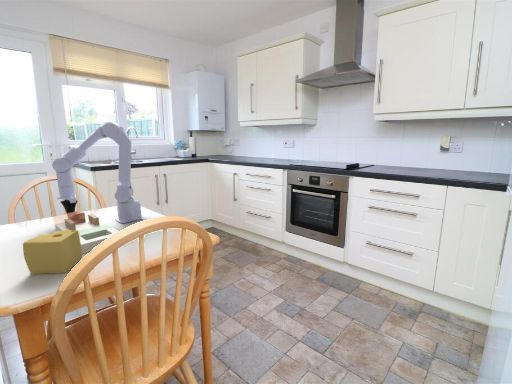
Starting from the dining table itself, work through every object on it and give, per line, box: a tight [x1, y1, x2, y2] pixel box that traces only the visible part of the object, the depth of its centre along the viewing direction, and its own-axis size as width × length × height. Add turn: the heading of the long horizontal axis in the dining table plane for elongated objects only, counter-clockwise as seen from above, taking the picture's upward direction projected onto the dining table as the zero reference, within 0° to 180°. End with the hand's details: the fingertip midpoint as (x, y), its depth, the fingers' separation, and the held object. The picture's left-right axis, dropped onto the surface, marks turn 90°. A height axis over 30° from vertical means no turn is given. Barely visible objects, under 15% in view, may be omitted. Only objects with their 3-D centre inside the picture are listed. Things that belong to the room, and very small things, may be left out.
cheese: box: [22, 230, 83, 275], centre depth 84 cm, size 10×11×10 cm
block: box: [66, 210, 86, 224], centre depth 118 cm, size 5×5×4 cm
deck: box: [54, 213, 119, 254], centre depth 110 cm, size 14×33×6 cm, turn 47°
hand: (71, 216), depth 123 cm, fingers closed
